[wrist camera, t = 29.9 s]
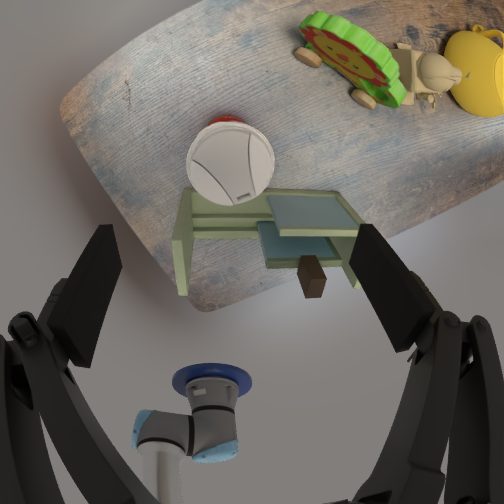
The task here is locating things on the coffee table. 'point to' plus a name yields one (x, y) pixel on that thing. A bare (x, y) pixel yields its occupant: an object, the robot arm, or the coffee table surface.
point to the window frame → (264, 209)
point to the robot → (424, 73)
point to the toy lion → (352, 58)
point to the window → (299, 256)
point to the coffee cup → (230, 161)
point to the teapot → (478, 71)
